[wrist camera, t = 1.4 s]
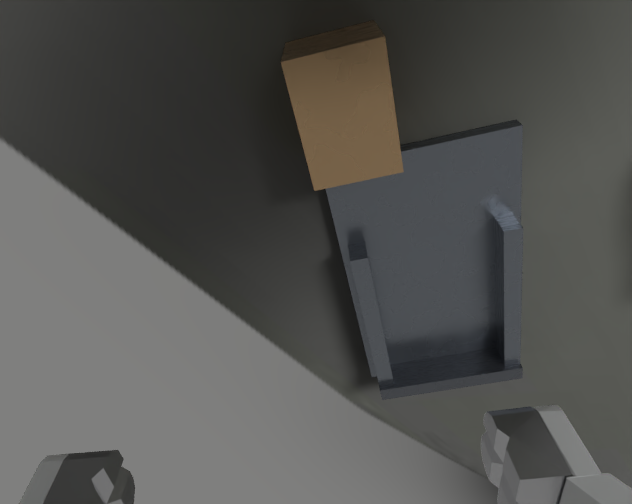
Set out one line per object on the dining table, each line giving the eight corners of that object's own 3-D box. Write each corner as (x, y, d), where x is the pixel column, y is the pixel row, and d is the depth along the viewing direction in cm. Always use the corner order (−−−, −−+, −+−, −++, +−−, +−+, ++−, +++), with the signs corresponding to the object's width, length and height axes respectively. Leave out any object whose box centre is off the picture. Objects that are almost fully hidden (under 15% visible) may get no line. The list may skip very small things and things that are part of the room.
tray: (516, 119, 29) (539, 140, 26) (514, 344, 40) (529, 376, 37) (320, 162, 30) (321, 187, 27) (370, 368, 41) (375, 401, 38)
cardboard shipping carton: (373, 19, 26) (385, 36, 22) (391, 138, 30) (403, 171, 25) (285, 42, 26) (280, 62, 22) (314, 155, 30) (314, 191, 26)
